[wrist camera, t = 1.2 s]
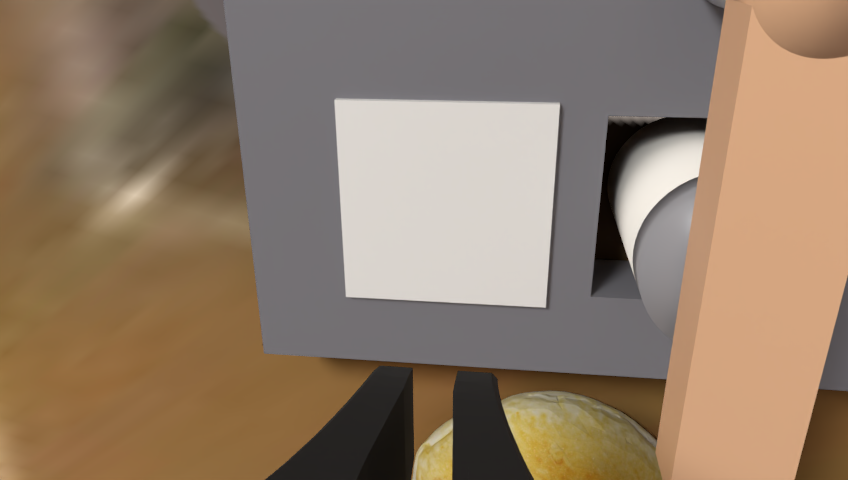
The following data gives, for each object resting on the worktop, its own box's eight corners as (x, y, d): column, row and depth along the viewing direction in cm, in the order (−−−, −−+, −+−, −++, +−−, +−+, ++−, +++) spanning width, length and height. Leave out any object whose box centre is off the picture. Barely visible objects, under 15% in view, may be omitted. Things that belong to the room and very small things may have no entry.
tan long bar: (737, -117, 11) (767, -124, 10) (906, -120, 11) (960, -128, 10) (650, 451, 16) (662, 499, 15) (768, 461, 16) (791, 510, 14)
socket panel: (1090, -138, 16) (1389, -179, 10) (929, 349, 21) (1074, 494, 16) (247, -122, 18) (130, -148, 13) (289, 312, 23) (218, 427, 18)
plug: (764, 116, 19) (863, 188, 14) (739, 249, 21) (818, 362, 15) (614, 112, 19) (651, 180, 14) (601, 243, 21) (630, 350, 16)
